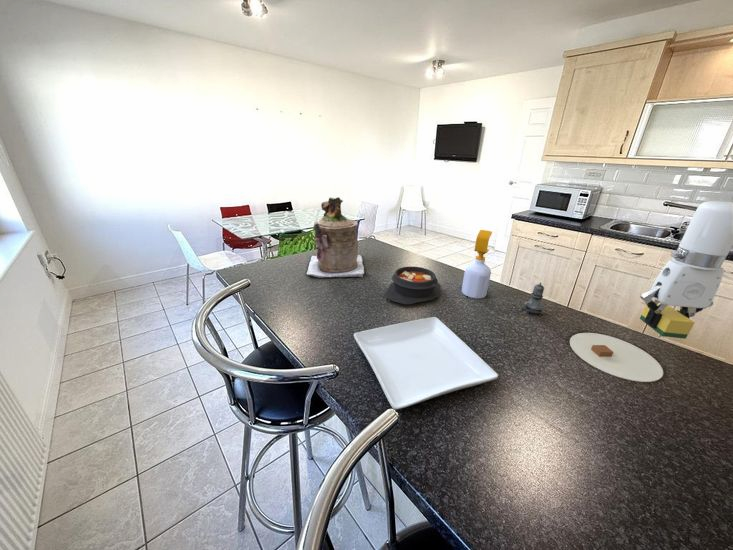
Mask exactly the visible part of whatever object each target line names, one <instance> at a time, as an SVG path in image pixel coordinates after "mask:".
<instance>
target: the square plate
mask: <svg viewBox="0 0 733 550" xmlns="http://www.w3.org/2000/svg"><path fill="white" fill-rule="evenodd" d="M353 338H354V341H356V343H357V345H358V347H359V348H360V350H361V351H362V353H363V355H364V356H365V358H366V360H367V362H368V363H369V365H370V367H371V369H372V371H373V373H374V374H375V377H376V379H377V381H378V382H379V385H380V387H381V389H382V391H383V393H384V395H385V397H386V400H387V402H388V403H389V405H390V406H391V409H393V410H401V409H404V408H407V407H410V406H414V405H416V404H419V403H422V402H426V401H427V400H430V399H434V398H437V397H439V396H442V395H446V394H449V393H452V392H455V391H459V390H463V389H466V388H470V387H475V386H477V385H481V384H482V385H483V384H485V383H488V382H491V381H494V380H496V379H498V377H499V374H498V372H496V370H494V369H493V368H492V367H490V365H489V364H488V363H486V362H485V361H484V359H482V358H481V357H480V356H479V355H478V354H477V353H476V352H475V351H474V350H473V349H472V348H470V346H469V345H467V344H466V343H465V342H464V341H463V340H462V339H461V338H460V337H459V336H458V335H457V334H455V333H454V332H453V331H452V330H451V329H450V328H449V327H448V326H447V325H446V324H445V323H444V322H443V321H442V320H440V319H439V318H438V317H436V316H432V317H427V318H426V317H425V318H421V319H414V320H409V321H405V322H404V321H403V322H400V323H395V324H389V325H384V326H380V327H376V328H370V329H367V330H366V329H365V330H361V331H358V332H354V333H353Z"/></svg>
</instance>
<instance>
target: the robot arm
mask: <svg viewBox="0 0 733 550" xmlns="http://www.w3.org/2000/svg"><path fill="white" fill-rule="evenodd" d="M732 248H733V202H732V201H725V200H723V201H722V200H708V201H704V202H702V203H700V204H698V207H697V208H696V210H695V212H694V213H693V216H692V218H691V219H690V222H689V224H688V226H687V228H686V230H685V232H684V234H683V236H682V238H681V240H680V242H679V245H678V247H677V249H676V251H675V250H674V251H673V250H672V252H671V251H670V257H671V258H672V259H669V260H668V261H667V262H666V263H665V265H663V267H662V268H661V271H659V273H658V275H657V276H656V278H655V280H654V281H653V284H652V286H651V288H650V289H649V290H647V291H646V292H643V293H642V294H641V295H640V296H639V298H640V299H641V300H642V301H643V302H644V303H645V305H646V304H647V306H648V308H649V309H650V310H649V312H648V314H647V316H646V318H645V320H644V321H645V322H644V324H646V323H647V324H648V325H649V326H648V325H647V324H646V325H647V326H648V327H650V326H651V327H652V328H656V327H657V325H658V323H659V321H660V319H661V317H662V314H661V312H662V311H663V310H664V309H665V308H666V307H667V305H668V306H670V307H679V309H676V311H678V312H679V313H681V314H682V315H684V316H686V317H687V318H689V319H690V318H692V317H695V316H696V314H697V313H699V312H702V311H703V310H704V309H707V308H710V307H712V306H714V301H713V300H714V298H715V297H716V294H717V292H718V290H719V288H720V285H721V282H722V280H723V275H724V267H722V265H723V264H724V262H725V260H726V259H727V256H728V255H729V253H730V251H731V249H732ZM657 305H659V306H657ZM651 327H650V328H651ZM652 328H651V329H652Z"/></svg>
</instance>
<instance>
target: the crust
mask: <svg viewBox="0 0 733 550" xmlns="http://www.w3.org/2000/svg"><path fill="white" fill-rule="evenodd" d="M591 350H592V351H593V352H594V353H595V354H597V355H598V356H599V357H612V355H613V351H612V350H610V349H609V348H608V347H607V346H606V345H593V346H592V348H591Z"/></svg>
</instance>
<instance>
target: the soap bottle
mask: <svg viewBox="0 0 733 550" xmlns="http://www.w3.org/2000/svg"><path fill="white" fill-rule="evenodd" d="M492 235H493V232H492V230H486V229H480V230H479V232H478V233H477V236H476V240H475V244H474V252H476V253H477V254H478V255H476V256H475V259H474V262H471V263H469V264H467V265H466V267H465V268H464V273H463V279H462V285H461V293H462V294H463V295H464V296H465V297H467V296H468V298H470V299H478V300H479V299H484V298H486V296H487V293H488V290H489V285H490V280H491V275H492V271H491V270H492V269H491V268H490V267H489V266H488V265H487V264H486V263H485V262H486V256H484V255H485V254H488V252H489V251H490V249H489V248H488V246H489V241H490V238H491V236H492Z"/></svg>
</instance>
